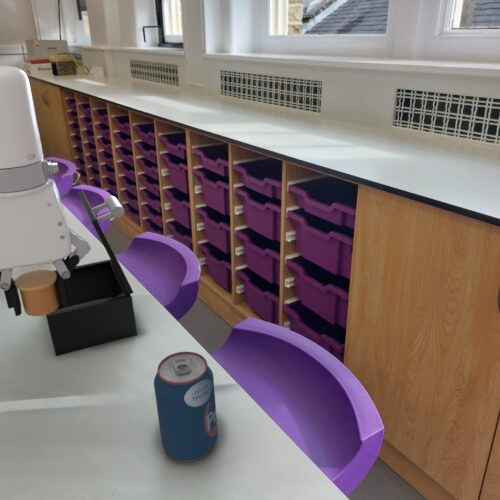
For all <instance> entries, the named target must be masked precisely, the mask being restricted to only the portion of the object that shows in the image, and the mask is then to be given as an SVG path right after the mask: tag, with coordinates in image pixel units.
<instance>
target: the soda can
mask: <svg viewBox="0 0 500 500" xmlns="http://www.w3.org/2000/svg"><path fill="white" fill-rule="evenodd" d="M153 388H154V395H155V403H156V410H157V417H158V418H157V419H158V424H159V433H160V439H161V440H160V441H161V445H162V447H163V449H164V450H165V451H166V453H167V454H169V455H170V456H171V457H173V459H175V460H178V461H181V462H187V463H188V462H195V461H198V460H201V459H203V458H204V457H206V455H208V454H209V453H210V451H211V450H212V449H213V447H214V446H215V444H216V443H217V439H218V433H219V432H218V421H217V406H216V405H217V404H216V394H215V381H214V372H213V370H212V369H211V367H210V366H209V364H208V362H207V360H206V358H205V357H204V356H203V355H201V354H200V353H197V352H194V351H179V352H174V353H171V354H169V355H167V356H166V357H164V358H163V359H162V360H161V361H160V362H159V363H158V365H157V370H156V373H155V376H154V379H153Z"/></svg>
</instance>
